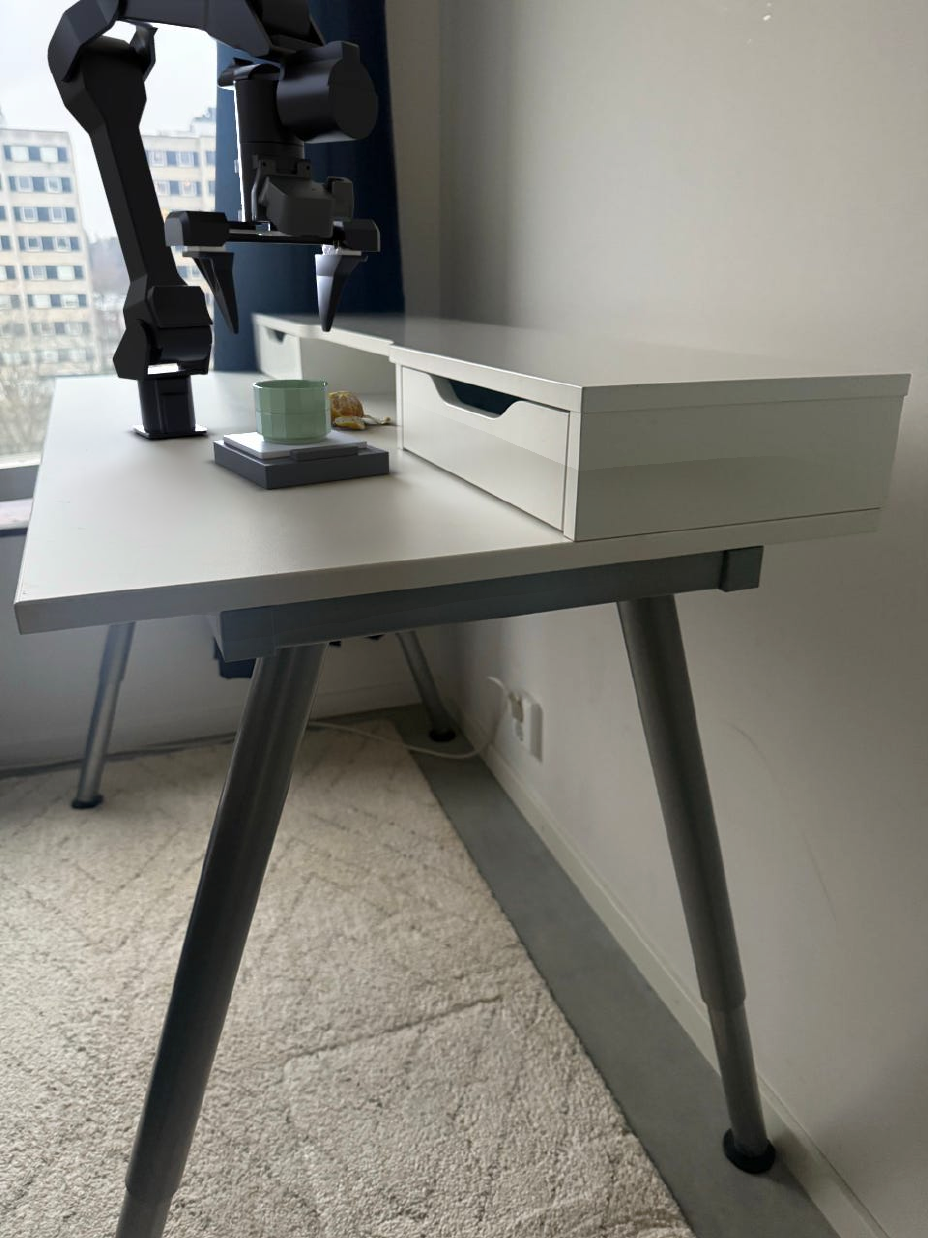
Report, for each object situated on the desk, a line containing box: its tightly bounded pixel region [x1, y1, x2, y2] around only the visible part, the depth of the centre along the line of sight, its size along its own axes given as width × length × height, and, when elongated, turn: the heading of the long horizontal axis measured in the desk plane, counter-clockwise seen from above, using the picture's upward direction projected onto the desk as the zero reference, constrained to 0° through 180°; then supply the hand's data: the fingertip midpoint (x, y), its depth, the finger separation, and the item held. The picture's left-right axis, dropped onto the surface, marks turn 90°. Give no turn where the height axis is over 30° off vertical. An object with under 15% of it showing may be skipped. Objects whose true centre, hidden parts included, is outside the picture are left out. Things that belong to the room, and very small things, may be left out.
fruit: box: [329, 390, 392, 430], centre depth 104 cm, size 8×8×4 cm
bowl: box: [252, 379, 332, 444], centre depth 80 cm, size 7×7×5 cm
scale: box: [212, 429, 390, 490], centre depth 81 cm, size 13×12×3 cm
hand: (281, 332), depth 82 cm, fingers open, 9 cm apart
